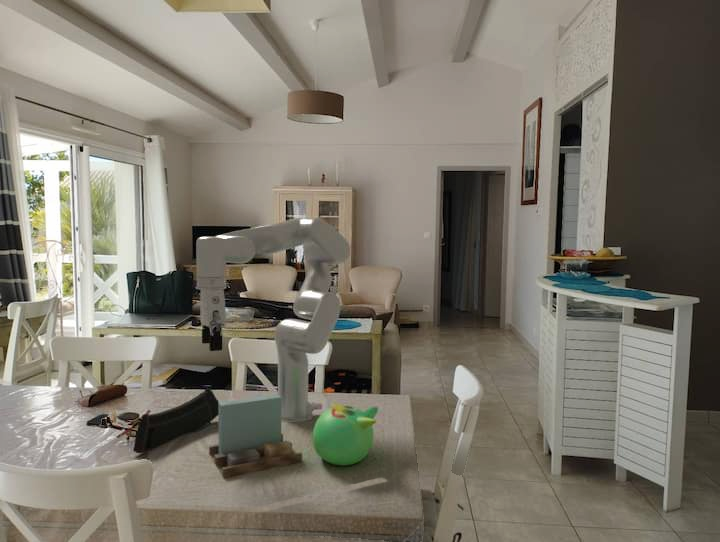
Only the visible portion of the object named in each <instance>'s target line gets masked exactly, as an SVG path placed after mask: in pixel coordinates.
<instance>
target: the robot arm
mask: <svg viewBox="0 0 720 542" xmlns="http://www.w3.org/2000/svg"><path fill="white" fill-rule="evenodd" d="M195 243H196V245H195V246H196V251H195V252H196V253H195V254H196V290H200V296H199V297H200V301H199V302H200V306H199V309H200V314H199V315H200V321H201V323H202V324H201V328H202V329H201V343H202V344H209V347H208V348H209V351H210V352H217V351H218V352H219V351H222V350H223V327H225V326H226V325H227V324H226V323H227V321H226V317H227V316H226V298H225V291H224V290H225V289H227V263H229V264H246V263H247V262H248V263H249V262H250V261H251V260H253V258H254V257H255V255H259V254H260V255H263V254H264V255H267V254H277V253H279V252H283V251H286V250H289V249H293V248H296V247H301V246H303V247H302V248H303V255H304V258H305V263H306V267H307V273H306V277H304V278H305V279H304V281H303V283H302V286H301V287H300V288H299V291H298V293H297V294H296V295H297V296H296V297H295V300H294V302H293V306H292V310H293V313H294V314H295V316H297V317H298V318H301V319H296V318H285V319H283V320H281V321H279V322H278V324H277V325H276V327H275V330H274V341H275V346H276V352H277V394H278V395H279V396H281V423H282V422H283V423H298V422H299V423H300V422H304V421H311V420H312V419H313V417H314V415H313V412H314V411H315V410H322V409H323V404H322V403H321V402H319V403H316V402H312V401H311V402H309V359H308V355H307V354H312V355H316V354H317V355H318V354H319V353H321V352H322V351H323V350H324V349H325V347H326V346H327V344H328V342H329V340H330V338H331V335H332V334H333V333H332V332H333V330H334V329H335V326H336V325H337V322H338V320H339V317H340V314H341V307H342V306H341V301H340V298H339V296H338V295H336V294H335V293H333V292H331V291H329V290H330V287H331V285H332V281H333V280H332V274H331V270H330V268H329V265H328V264H332V265H334V264H335V265H340V264H343V263H345V262H347V260H348V259H349V258H350V255H351V246H350V244H349V242H348V240H347V239H346V238H345V237H344V236H343V235H342V234H341V233H340V232H339V231H338V230H336V229H335V228H334V227H333V226H332V225H331V224H330V223H329V222H327V221H326V220H324V219H322V218H320V217H296V218H292V219H287V220H284V221H280V222H275V223H271V224H268V225H266V224H265V225H259V226H257V227H256V226H255V227H251V228H246V229H241V230H235V231H231V232H227V233H223V234H219V235H215V236H200V237H198V238H197V239H196V242H195ZM302 319H304V320H302ZM308 320H309V321H308Z"/></svg>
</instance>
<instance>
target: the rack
mask: <svg viewBox="0 0 720 542" xmlns="http://www.w3.org/2000/svg"><path fill="white" fill-rule="evenodd" d="M283 441H284V433H282V432H281V442H283ZM286 441H287V440H286ZM287 442H288V443H289V444H290V445H291V446H292V447H293V442H292V441H290V440H288V441H287ZM250 449H256V451H257V452H258V453H259V454H260V460H259V461H254V462H249V463H244V464H239V465H234V466H229V467H228V466H227V454H229V453H234V452H239V451H245V450H250ZM208 454H209V456H210V458H211V459H212V462H213V463H214V464H215V466H216V468H217V470H218V471H219V473H220V475H221V477H222V478H223V479H224V480H225V479H229V478H234V477H235V478H236V477H239V476H243V475H249V474H252V473H257V472H263V471H268V470H272V469H276V468H282V467H287V466H291V465H297V464H301V463H303V453H302V452H301V451H300V452H299V451H298V452H294V451H293V450H292V454H289V455H284V456H279V457H274V458H269V459H265V458H264V446H260V447H254V448H249V449H243V450H238V451H233V452H227V453H222V454H219V443H218V444H213V445H209V447H208Z"/></svg>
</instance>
